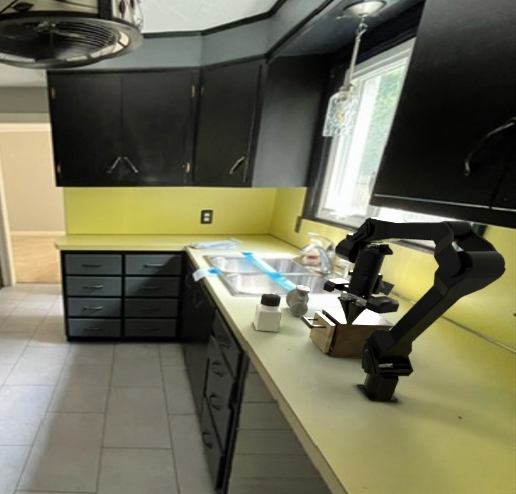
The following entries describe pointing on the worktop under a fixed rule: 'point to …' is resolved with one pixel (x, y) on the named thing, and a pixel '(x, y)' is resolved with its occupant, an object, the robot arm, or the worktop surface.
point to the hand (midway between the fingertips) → (349, 324)
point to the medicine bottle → (268, 313)
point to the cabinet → (354, 332)
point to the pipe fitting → (298, 300)
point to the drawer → (322, 330)
